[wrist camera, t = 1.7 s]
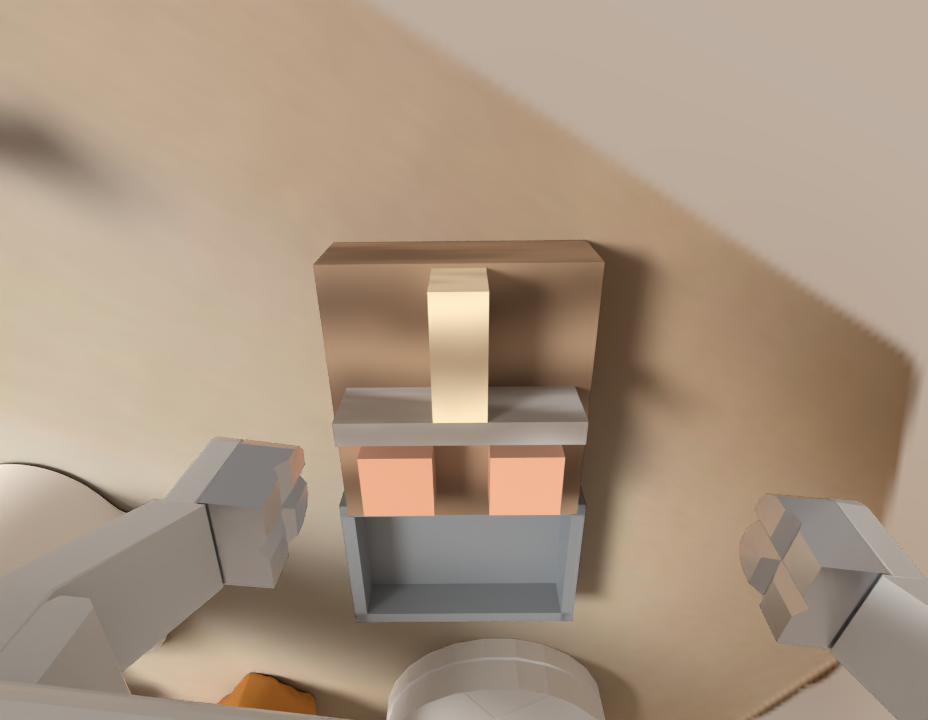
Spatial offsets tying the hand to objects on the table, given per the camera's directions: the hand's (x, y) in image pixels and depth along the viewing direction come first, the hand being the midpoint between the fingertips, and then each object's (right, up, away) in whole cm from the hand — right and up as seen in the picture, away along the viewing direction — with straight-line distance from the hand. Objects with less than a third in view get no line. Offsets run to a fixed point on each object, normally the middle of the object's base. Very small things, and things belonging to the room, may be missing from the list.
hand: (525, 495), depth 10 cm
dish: (+2, -34, +46) cm, 57 cm away
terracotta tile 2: (-5, -4, +26) cm, 26 cm away
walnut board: (-1, +2, +28) cm, 28 cm away
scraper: (-1, +3, +22) cm, 22 cm away
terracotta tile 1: (+3, -4, +26) cm, 26 cm away
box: (-1, -12, +35) cm, 37 cm away
